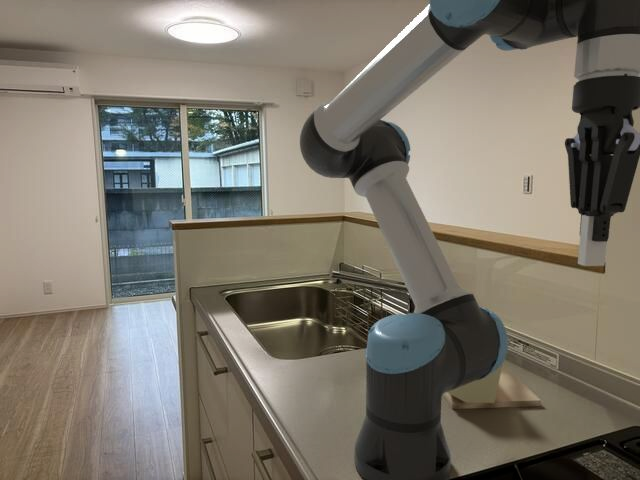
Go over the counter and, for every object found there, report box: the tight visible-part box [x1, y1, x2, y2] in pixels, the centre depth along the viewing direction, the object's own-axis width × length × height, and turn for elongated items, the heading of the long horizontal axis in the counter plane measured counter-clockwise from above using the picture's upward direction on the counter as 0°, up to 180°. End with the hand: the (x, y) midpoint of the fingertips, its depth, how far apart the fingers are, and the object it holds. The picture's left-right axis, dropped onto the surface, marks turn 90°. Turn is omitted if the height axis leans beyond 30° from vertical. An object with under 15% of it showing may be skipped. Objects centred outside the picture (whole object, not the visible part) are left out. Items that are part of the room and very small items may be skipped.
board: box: [442, 366, 542, 410], centre depth 102 cm, size 18×16×1 cm
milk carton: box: [447, 364, 503, 403], centre depth 102 cm, size 9×9×20 cm
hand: (590, 264), depth 62 cm, fingers closed
